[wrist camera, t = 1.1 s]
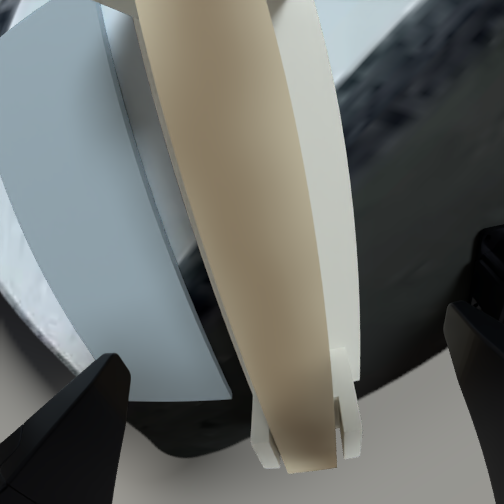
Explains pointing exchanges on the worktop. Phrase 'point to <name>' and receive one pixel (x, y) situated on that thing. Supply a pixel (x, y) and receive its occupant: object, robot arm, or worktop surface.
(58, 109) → the mat
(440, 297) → the worktop surface
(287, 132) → the rail
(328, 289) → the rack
